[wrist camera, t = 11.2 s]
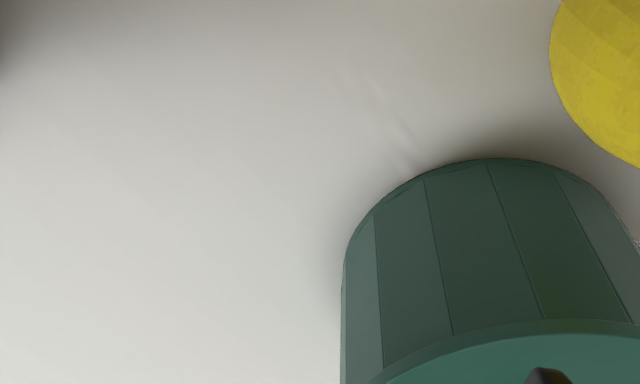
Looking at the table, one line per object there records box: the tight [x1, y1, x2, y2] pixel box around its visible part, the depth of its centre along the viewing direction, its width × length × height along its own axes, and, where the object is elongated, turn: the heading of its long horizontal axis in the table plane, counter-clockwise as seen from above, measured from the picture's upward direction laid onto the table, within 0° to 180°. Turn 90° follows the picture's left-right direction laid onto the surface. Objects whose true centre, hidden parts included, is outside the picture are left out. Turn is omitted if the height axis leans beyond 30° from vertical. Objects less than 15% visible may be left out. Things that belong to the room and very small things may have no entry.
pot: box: [340, 158, 640, 384], centre depth 21 cm, size 11×11×8 cm
